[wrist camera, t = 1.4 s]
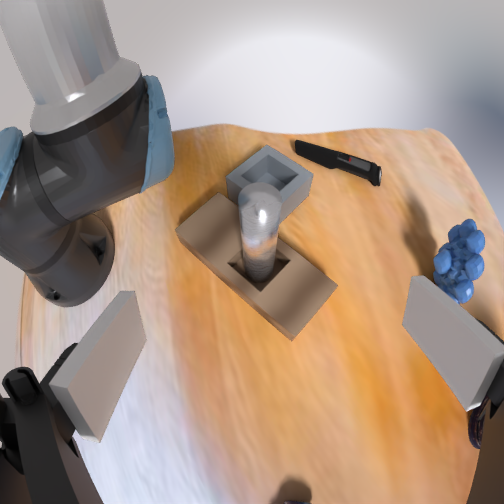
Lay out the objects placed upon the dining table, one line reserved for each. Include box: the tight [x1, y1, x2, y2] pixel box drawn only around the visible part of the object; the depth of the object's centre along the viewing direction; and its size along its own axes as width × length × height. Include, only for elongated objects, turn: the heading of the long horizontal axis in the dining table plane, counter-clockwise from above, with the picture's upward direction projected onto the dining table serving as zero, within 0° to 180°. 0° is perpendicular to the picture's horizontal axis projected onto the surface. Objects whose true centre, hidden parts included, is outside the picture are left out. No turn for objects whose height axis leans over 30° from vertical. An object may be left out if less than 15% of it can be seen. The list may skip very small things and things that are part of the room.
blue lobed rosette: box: [433, 219, 485, 304], centre depth 32 cm, size 12×7×12 cm, turn 166°
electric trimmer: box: [295, 140, 382, 186], centre depth 45 cm, size 4×16×3 cm, turn 67°
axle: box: [238, 182, 282, 283], centre depth 31 cm, size 4×4×15 cm
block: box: [226, 145, 313, 224], centre depth 41 cm, size 8×8×5 cm
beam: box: [175, 192, 338, 341], centre depth 37 cm, size 20×8×4 cm, turn 47°
